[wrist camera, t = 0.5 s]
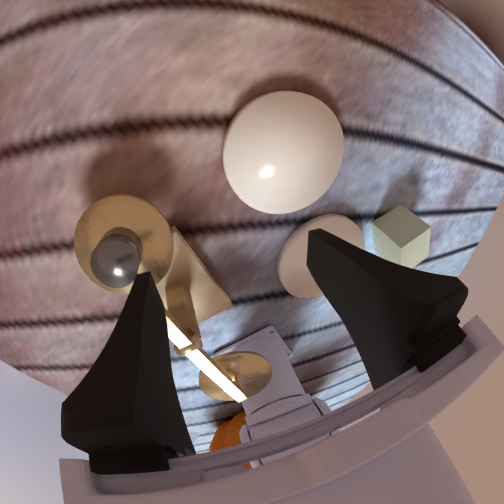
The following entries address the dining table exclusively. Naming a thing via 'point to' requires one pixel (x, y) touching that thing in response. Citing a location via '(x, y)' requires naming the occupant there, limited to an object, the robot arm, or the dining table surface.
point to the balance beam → (158, 263)
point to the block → (401, 237)
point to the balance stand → (190, 288)
